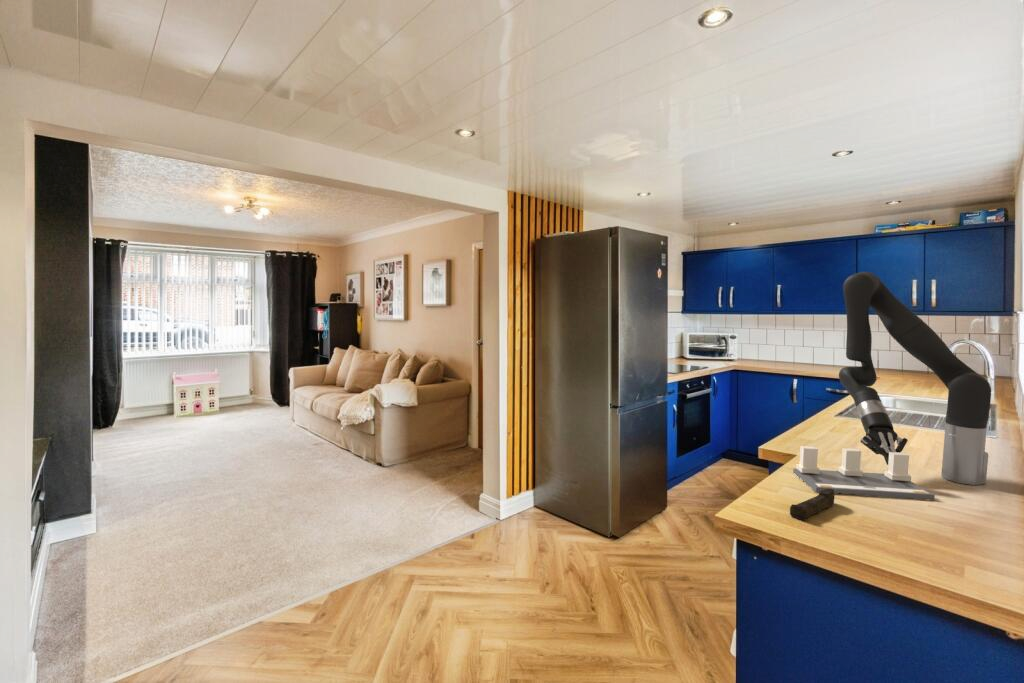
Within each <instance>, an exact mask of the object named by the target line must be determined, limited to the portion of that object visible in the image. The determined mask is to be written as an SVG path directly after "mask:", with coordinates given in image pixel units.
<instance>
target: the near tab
mask: <svg viewBox="0 0 1024 683" xmlns="http://www.w3.org/2000/svg"><path fill="white" fill-rule="evenodd" d="M909 462H910V455H909V454H908V453H906V452H900V453H898V452H889V461H888V465H887V470H884V472H883V474H884V476H886V477H888V478H890V479H891V480H900V481H911V482H912V476H911V475H910V474H909V465H910V464H909Z"/></svg>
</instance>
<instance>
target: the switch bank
mask: <svg viewBox="0 0 1024 683" xmlns="http://www.w3.org/2000/svg"><path fill="white" fill-rule="evenodd" d="M792 473H793V474H794V473H795V474H796V475H797V476H798V477H799V478H798V477H797V476H796V475H795V474H794V475H795V476H796V477H797V478H798V479H800V478H801V479H802V480H803V481H804V482H805V483H806V484H805V483H804V482H803V481H802V480H801V479H800V480H801V481H802V482H803V483H804V484H805V485H807V486H808V487H809V486H810V487H811V488H812V489H813V490H812V489H811V488H810V487H809V488H810V489H811V490H812V491H813V492H815V493H817V492H820V491H821V490H825V489H833V490H834V493H843V494H842V495H847V494H856V495H855V496H863V495H869V496H868V497H878V496H881V497H882V498H893V497H894V498H897V499H909V498H914V499H913V500H924V499H930V500H929V501H935V494H934V493H933V492H931V491H929V490H927V489H925V488H923V487H922V486H920V485H917V484H916V483H914V482H912V480H911V481H900V480H891V479H890V478H888V477H886V476H884V473H878V472H863V476H848V475H843V474H842V473H841V472H839V471H838V470H829V469H828V470H827V469H826V470H825V469H820V474H814V473H801V472H800V471H799V470H798V469H797V468H793V470H792ZM870 495H871V496H870ZM881 497H880V498H881ZM915 498H916V499H915Z"/></svg>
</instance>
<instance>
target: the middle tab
mask: <svg viewBox="0 0 1024 683" xmlns="http://www.w3.org/2000/svg"><path fill="white" fill-rule="evenodd" d="M841 452H842V453H841V464H840V465H838V466H837V471H839V472H841V473H842V474H843V475H848V476H863V473H864V471H863V470H861V463H862V462H861V460H862V459H861V458H862V451H861V450H860V449H858V448H850V447H849V448H848V447H847V448H845V447H842V451H841Z"/></svg>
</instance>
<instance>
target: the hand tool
mask: <svg viewBox="0 0 1024 683" xmlns="http://www.w3.org/2000/svg"><path fill="white" fill-rule="evenodd" d="M834 504H835V494H834V490H833V489H825V490H821V491H820V492H819V493H818V494H817V495H815V496H813V497H812V498H808V499H806V500H805V501H801V502H799V503H797V504H795V503H794V504H791V505H790V506H789V515H790V516H791V518H793V519H795V520H798V521H800V520H801V522H804V521H806V520H808V519H809V517H810V516H812V515H815V514H816V513H818V512H820V511H822V510H830V509H831V508H832V507H833V505H834Z"/></svg>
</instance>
